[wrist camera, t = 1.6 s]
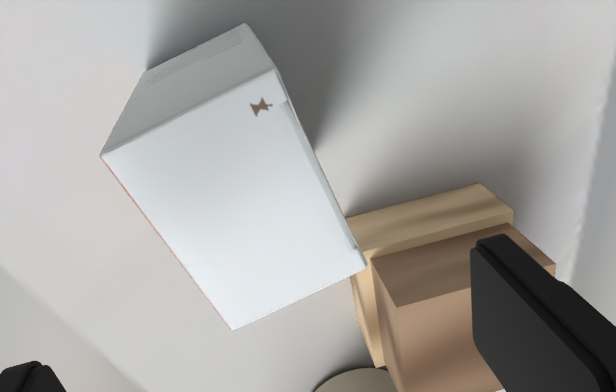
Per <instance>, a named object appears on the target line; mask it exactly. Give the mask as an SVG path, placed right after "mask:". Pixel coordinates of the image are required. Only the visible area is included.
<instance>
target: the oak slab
mask: <svg viewBox="0 0 616 392" xmlns="http://www.w3.org/2000/svg"><path fill="white" fill-rule="evenodd" d="M345 219H346V221H347V223H348V225H349V227H350V229H351V231H352V233H353V235H354V237H355V239H356V241H357V243H358V245H359V247H360V249H361V251H362V253H363V255H364V256H365V258H366V260H367V263H368V265H367V267H366V268H365V269H364V270H362V271H360V272H358V273H355V274H353V275H351V276H350V279H351V284H352V290H353V295H354V301H355V306H356V312H357V317H358V323H359V328H360V330H361V333H362V335H363V338H364V340H365V343H366V345H367V347H368V350H369V352H370V355H371V357H372V360H373V362H374V365H375V367H376V368H378V367H382V366H385V365H386V364H385V362H384V356H383V349H382V342H381V335H380V328H379V320H378V313H377V306H376V299H375V291H374V284H373V277H372V270H371V263H370V259H372V258H376V257H379V256H383V255H387V254H391V253H394V252H398V251H402V250H406V249H410V248H413V247H417V246H421V245H425V244H428V243H432V242H436V241H440V240H443V239H447V238H451V237H455V236H459V235H462V234H466V233H470V232H474V231H477V230H481V229H485V228H489V227H492V226H496V225H500V224H504V223H507V222H508V223H509V224H511V225H512V226H513V225H514V210H513V209H512V208H510V207H509V206H508V205H507V204H505V203H504V202H503V201H502V200H500V199H499V198H498V197H497V196H495V195H494V194H493V193H492V192H491V191H489V190H488V189H487V188H486V187H484V186H483V185H482V184H481V183H477V184H473V185H469V186H465V187H462V188H458V189H454V190H450V191H447V192H443V193H439V194H435V195H432V196H428V197H424V198H420V199H417V200H413V201H409V202H405V203H402V204H398V205H394V206H390V207H387V208H383V209H379V210H375V211H372V212H368V213H364V214H360V215H357V216H353V217H349V218H345Z"/></svg>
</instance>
